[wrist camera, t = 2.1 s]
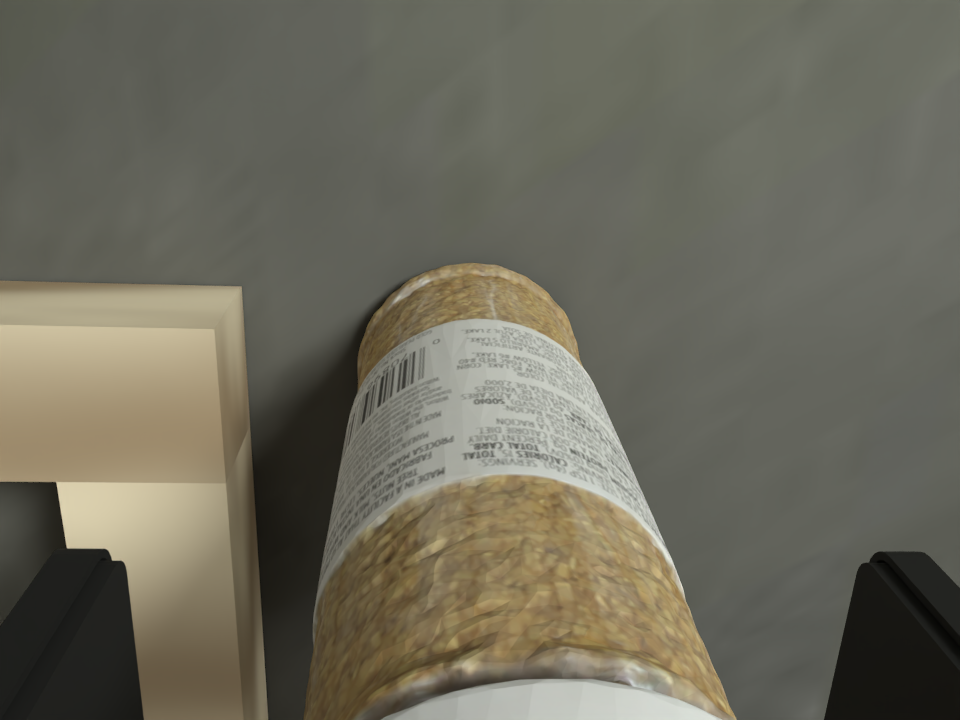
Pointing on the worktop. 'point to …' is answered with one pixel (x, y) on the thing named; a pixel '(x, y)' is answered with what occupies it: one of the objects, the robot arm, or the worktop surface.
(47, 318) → the keyhole board
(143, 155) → the worktop surface
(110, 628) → the robot arm
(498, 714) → the spice jar
